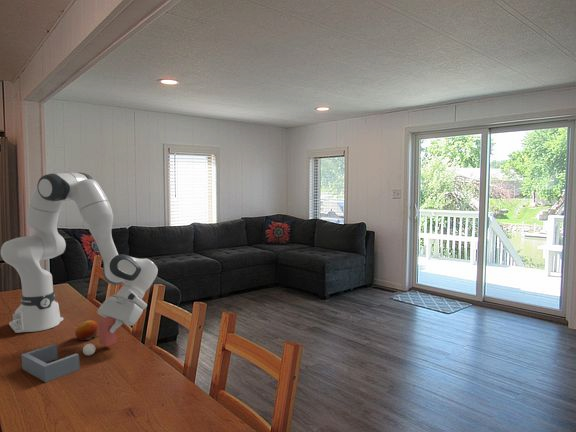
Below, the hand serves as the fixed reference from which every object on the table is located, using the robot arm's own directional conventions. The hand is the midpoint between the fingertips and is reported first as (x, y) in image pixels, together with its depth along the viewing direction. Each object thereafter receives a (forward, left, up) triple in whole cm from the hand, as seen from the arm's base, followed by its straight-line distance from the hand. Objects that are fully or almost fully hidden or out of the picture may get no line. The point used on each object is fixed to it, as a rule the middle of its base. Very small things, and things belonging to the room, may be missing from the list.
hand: (105, 330), depth 149 cm
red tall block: (0, +1, -5) cm, 5 cm away
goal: (0, -19, -7) cm, 20 cm away
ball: (0, -7, -7) cm, 10 cm away
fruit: (-16, +1, -7) cm, 17 cm away
